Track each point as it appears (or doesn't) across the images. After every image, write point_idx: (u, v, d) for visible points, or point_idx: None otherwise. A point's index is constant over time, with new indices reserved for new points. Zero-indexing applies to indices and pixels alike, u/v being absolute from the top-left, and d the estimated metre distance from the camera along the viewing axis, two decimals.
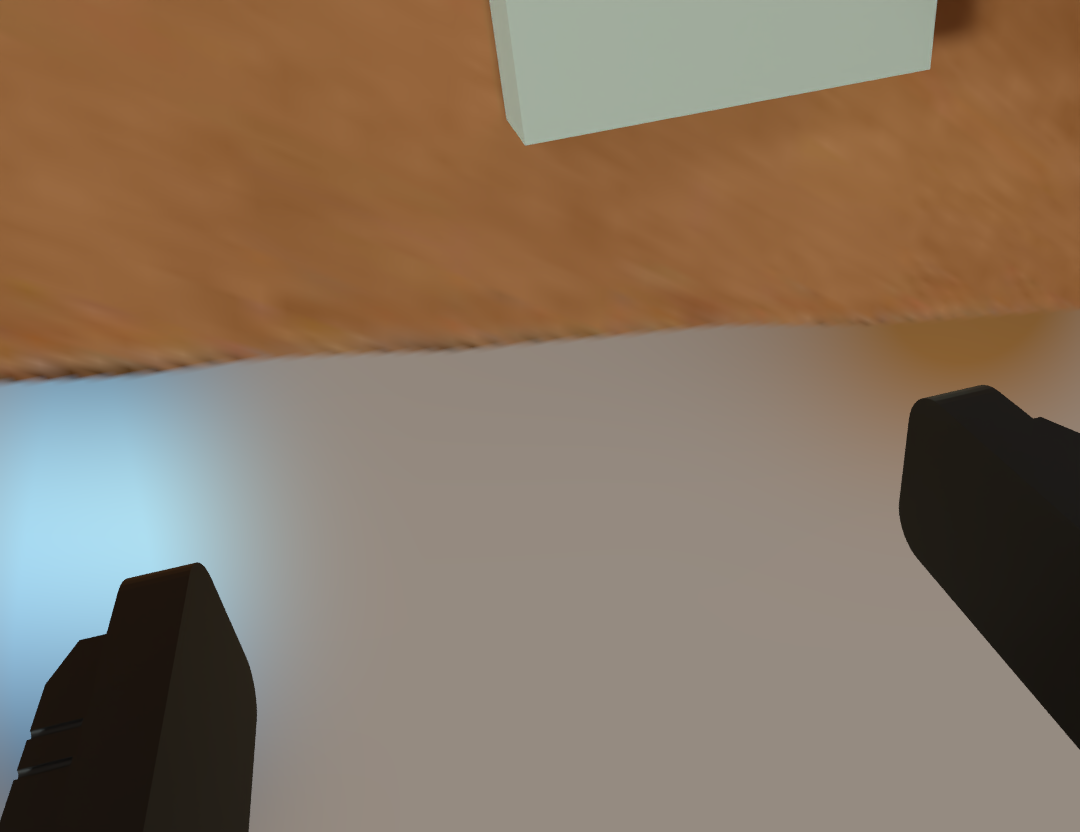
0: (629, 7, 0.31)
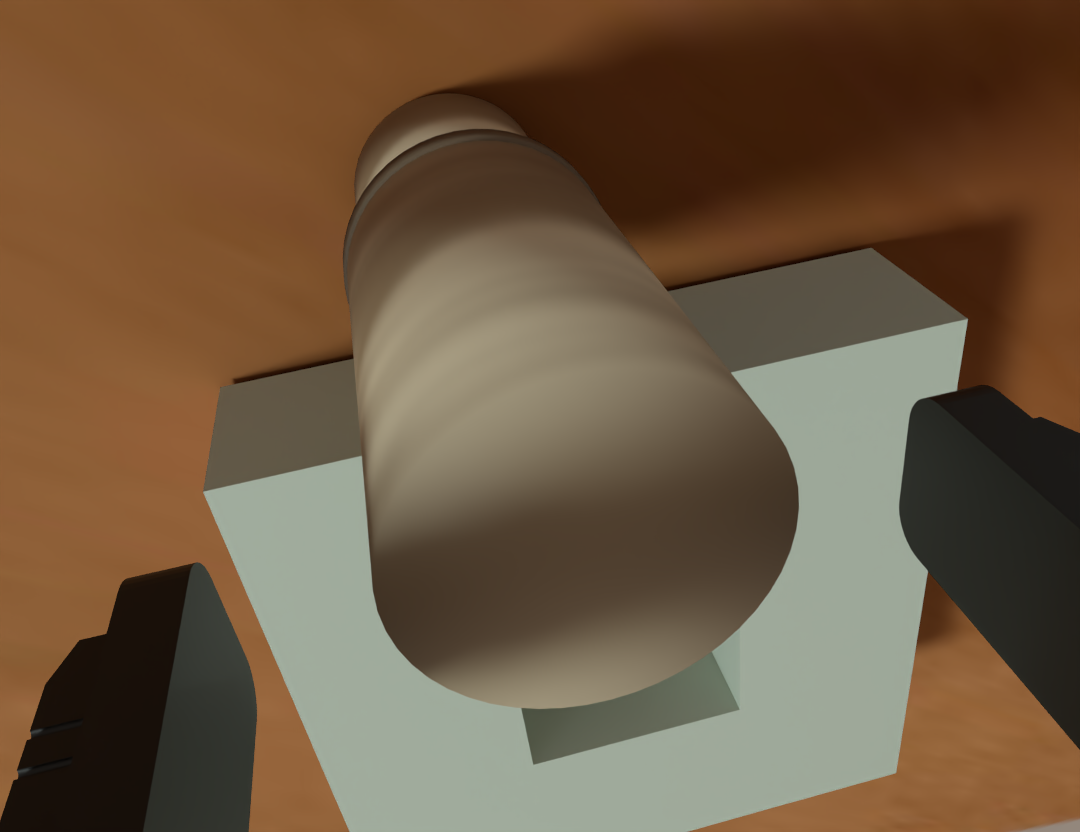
0: (509, 796, 0.25)
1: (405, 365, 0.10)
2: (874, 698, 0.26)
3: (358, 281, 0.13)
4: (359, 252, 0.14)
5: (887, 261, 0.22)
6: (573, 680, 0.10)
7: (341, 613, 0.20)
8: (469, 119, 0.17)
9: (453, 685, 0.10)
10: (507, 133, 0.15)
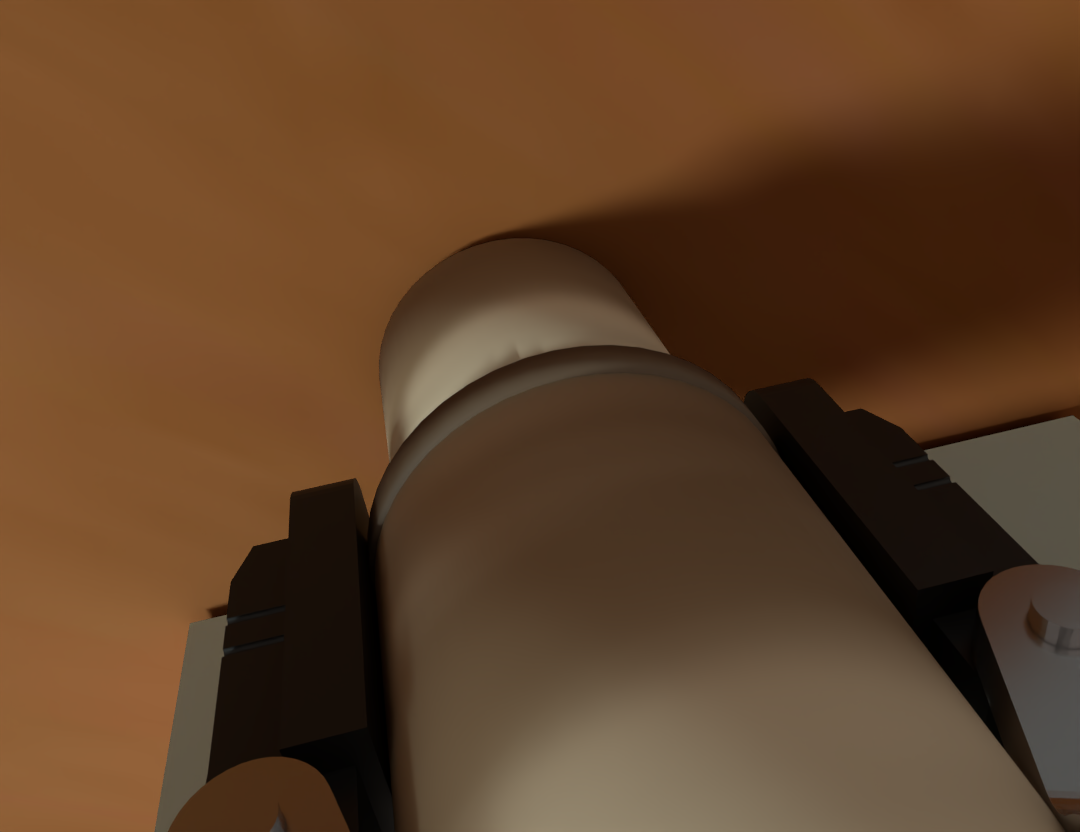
0: None
1: None
2: None
3: (401, 661, 0.07)
4: (400, 583, 0.08)
5: None
6: None
7: None
8: (559, 297, 0.11)
9: None
10: (638, 353, 0.09)
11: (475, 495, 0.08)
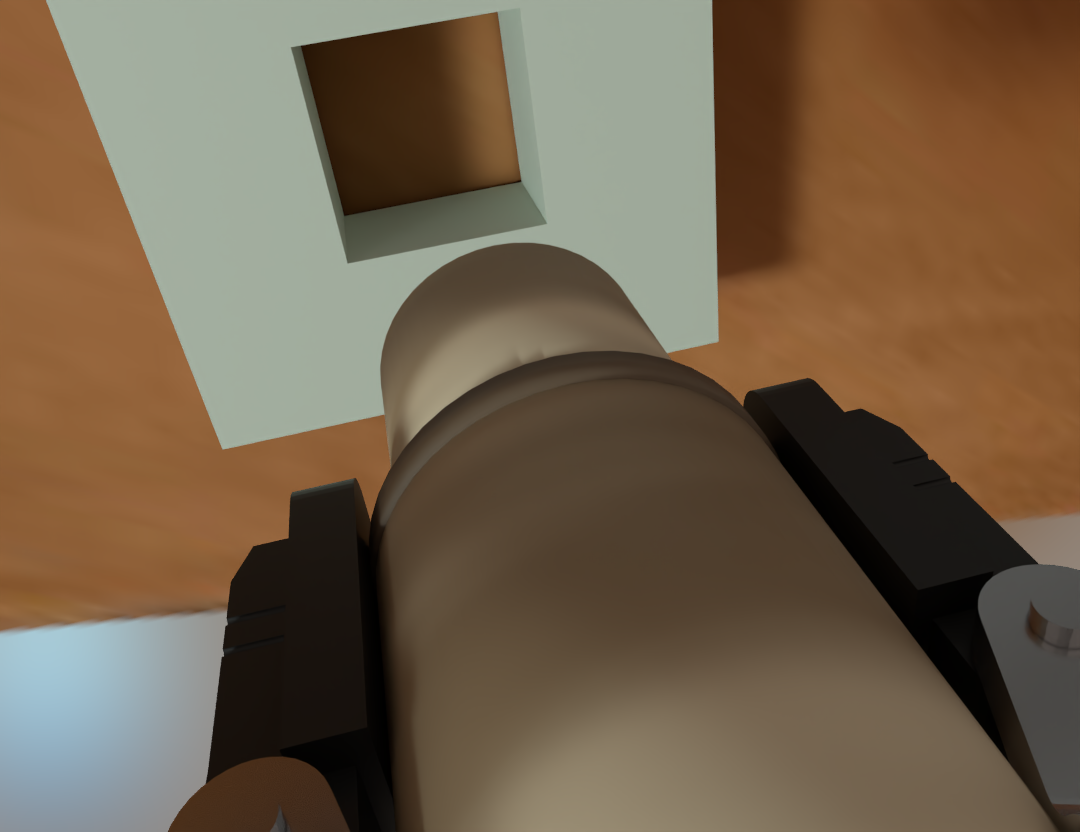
0: (328, 303, 0.26)
1: None
2: (682, 232, 0.27)
3: (402, 667, 0.07)
4: (401, 589, 0.08)
5: None
6: None
7: (132, 20, 0.21)
8: (560, 302, 0.11)
9: None
10: (639, 358, 0.09)
11: (476, 501, 0.08)
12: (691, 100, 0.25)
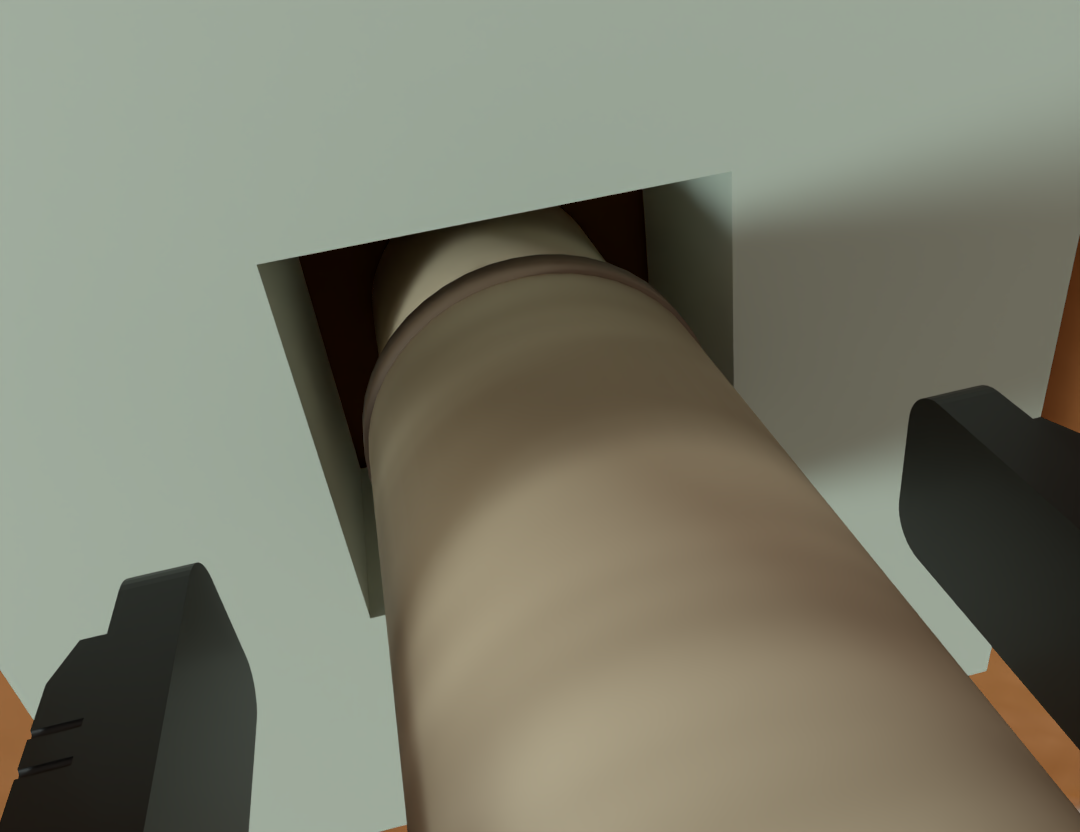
0: (334, 679, 0.14)
1: (486, 722, 0.06)
2: None
3: (389, 485, 0.09)
4: (389, 434, 0.10)
5: None
6: None
7: None
8: (523, 227, 0.13)
9: None
10: (583, 260, 0.11)
11: (448, 359, 0.10)
12: (1022, 320, 0.13)
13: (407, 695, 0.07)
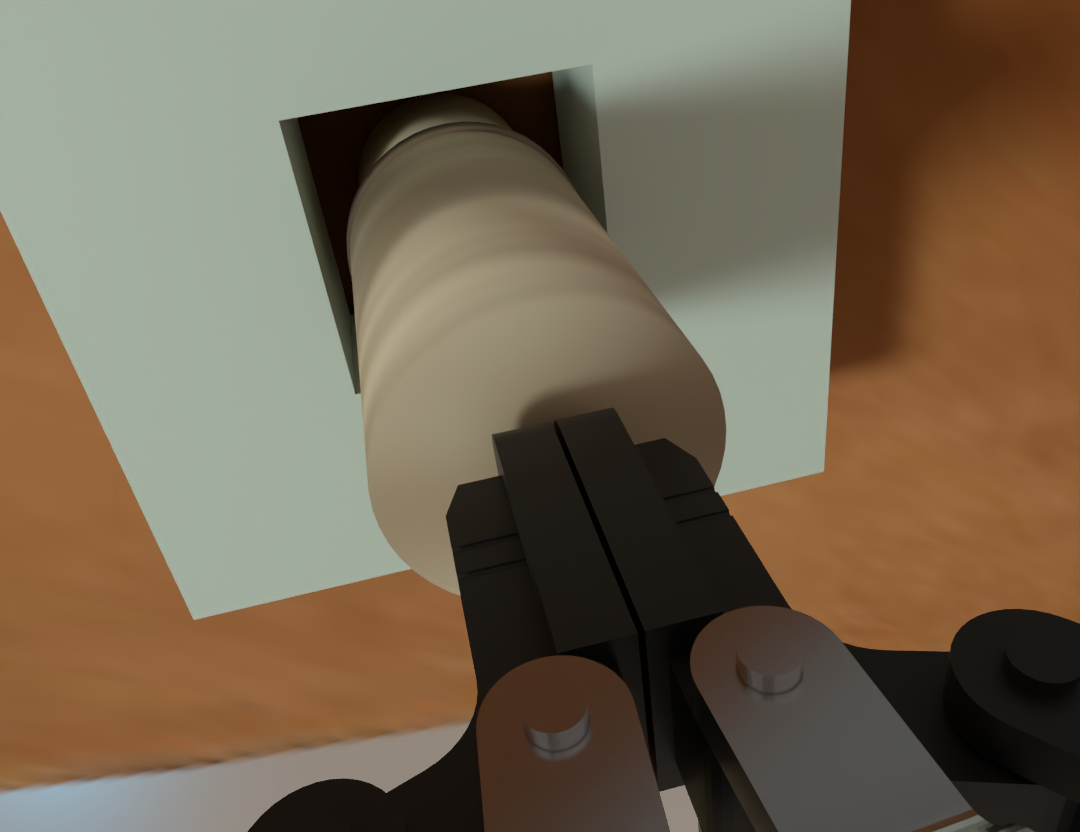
0: (330, 443, 0.20)
1: (397, 308, 0.12)
2: (788, 344, 0.21)
3: (359, 251, 0.15)
4: (360, 227, 0.16)
5: None
6: None
7: (56, 88, 0.15)
8: (460, 115, 0.19)
9: (436, 581, 0.12)
10: (492, 125, 0.17)
11: (397, 177, 0.15)
12: (811, 180, 0.19)
13: (362, 332, 0.13)
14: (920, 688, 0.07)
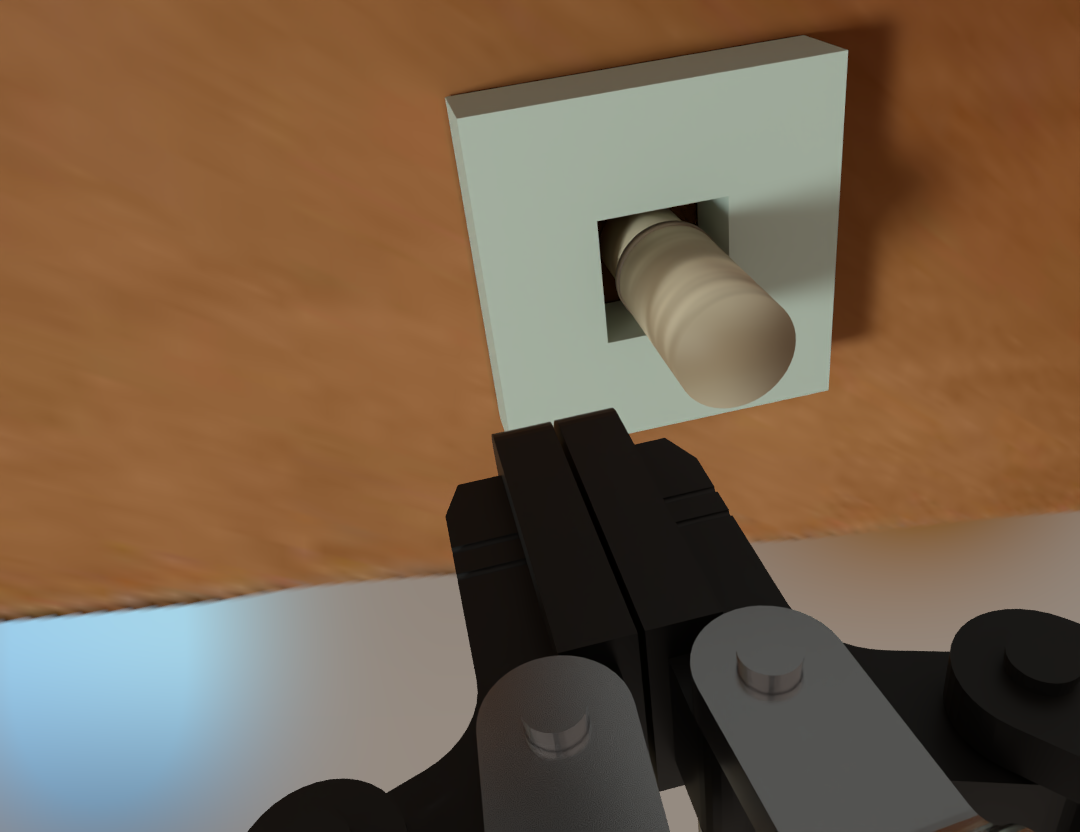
0: (593, 367, 0.41)
1: (679, 298, 0.33)
2: (811, 322, 0.43)
3: (638, 277, 0.37)
4: (634, 267, 0.37)
5: (811, 38, 0.39)
6: (726, 397, 0.34)
7: (513, 209, 0.37)
8: (661, 213, 0.40)
9: (690, 396, 0.34)
10: (684, 222, 0.39)
11: (652, 246, 0.37)
12: (823, 244, 0.41)
13: (656, 308, 0.35)
14: (920, 688, 0.07)
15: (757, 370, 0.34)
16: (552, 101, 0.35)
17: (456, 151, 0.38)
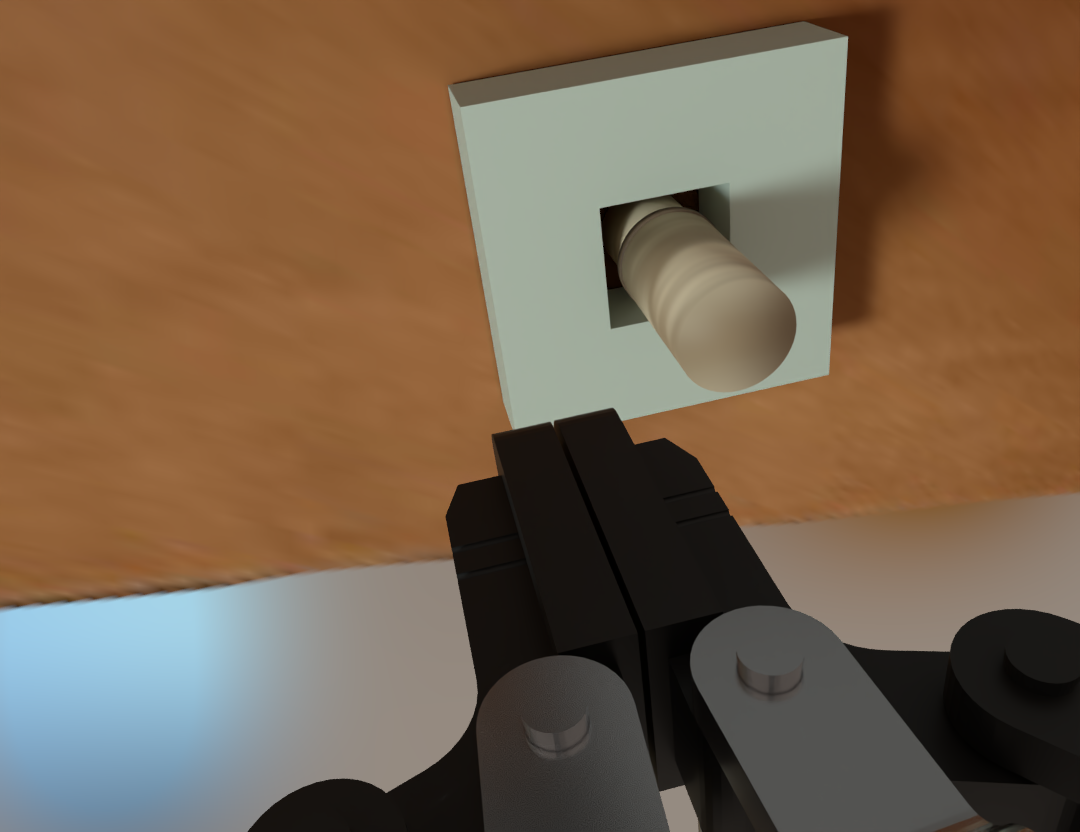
0: (595, 353, 0.42)
1: (681, 284, 0.34)
2: (812, 307, 0.43)
3: (640, 263, 0.37)
4: (636, 253, 0.38)
5: (811, 24, 0.39)
6: (727, 381, 0.34)
7: (517, 197, 0.37)
8: (662, 200, 0.41)
9: None
10: (686, 208, 0.39)
11: (653, 232, 0.38)
12: (823, 230, 0.41)
13: (658, 293, 0.35)
14: (920, 688, 0.07)
15: (758, 354, 0.34)
16: (555, 89, 0.35)
17: (459, 139, 0.38)
